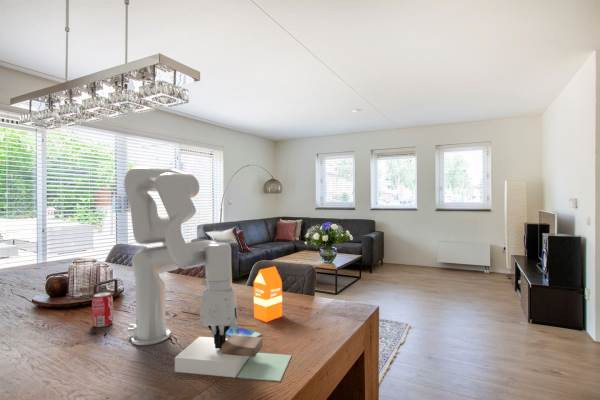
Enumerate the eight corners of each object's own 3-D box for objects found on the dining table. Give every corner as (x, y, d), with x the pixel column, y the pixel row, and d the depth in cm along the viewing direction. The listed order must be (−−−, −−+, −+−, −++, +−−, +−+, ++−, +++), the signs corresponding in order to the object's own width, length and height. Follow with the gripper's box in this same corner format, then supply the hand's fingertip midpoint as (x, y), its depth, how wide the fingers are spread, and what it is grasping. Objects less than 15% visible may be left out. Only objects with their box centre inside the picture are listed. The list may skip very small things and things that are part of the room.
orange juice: (253, 317, 132) (253, 268, 132) (270, 311, 138) (269, 265, 138) (266, 322, 127) (265, 271, 126) (282, 316, 133) (282, 267, 133)
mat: (237, 377, 87) (237, 376, 87) (254, 353, 101) (254, 352, 101) (280, 381, 85) (280, 380, 85) (291, 356, 99) (291, 355, 99)
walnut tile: (221, 353, 93) (221, 345, 93) (231, 343, 99) (231, 335, 99) (254, 356, 90) (254, 348, 90) (262, 345, 97) (262, 337, 97)
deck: (175, 371, 91) (174, 357, 91) (199, 348, 105) (199, 336, 105) (235, 377, 87) (235, 362, 87) (252, 353, 101) (252, 340, 101)
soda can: (110, 319, 131) (110, 290, 131) (115, 324, 126) (115, 293, 126) (90, 324, 126) (89, 294, 126) (94, 329, 121) (94, 298, 121)
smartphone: (249, 341, 109) (218, 332, 117) (249, 344, 109) (218, 334, 117) (263, 333, 115) (232, 325, 123) (263, 335, 115) (232, 327, 123)
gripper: (189, 287, 93) (190, 350, 93) (237, 289, 91) (239, 354, 91) (201, 280, 101) (202, 339, 101) (247, 282, 98) (248, 342, 98)
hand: (220, 346), depth 96 cm, fingers closed
